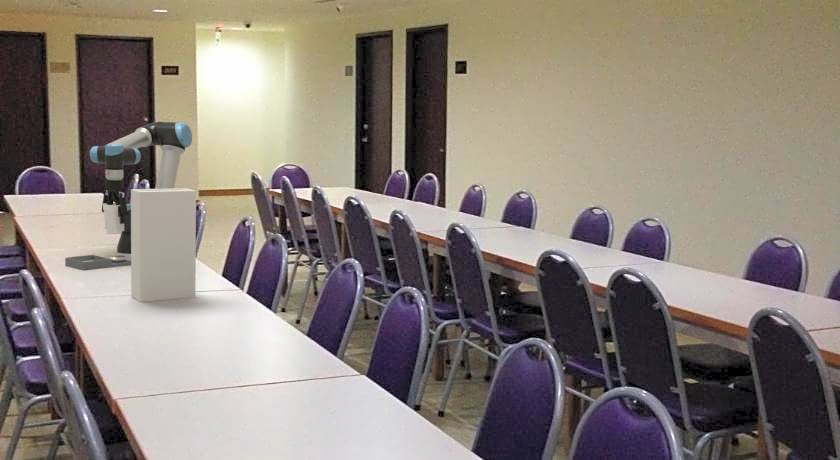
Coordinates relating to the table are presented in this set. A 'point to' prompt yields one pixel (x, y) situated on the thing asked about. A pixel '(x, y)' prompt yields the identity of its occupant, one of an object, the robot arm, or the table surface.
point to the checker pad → (116, 258)
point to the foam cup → (111, 218)
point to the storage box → (163, 244)
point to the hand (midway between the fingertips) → (114, 229)
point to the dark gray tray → (92, 262)
